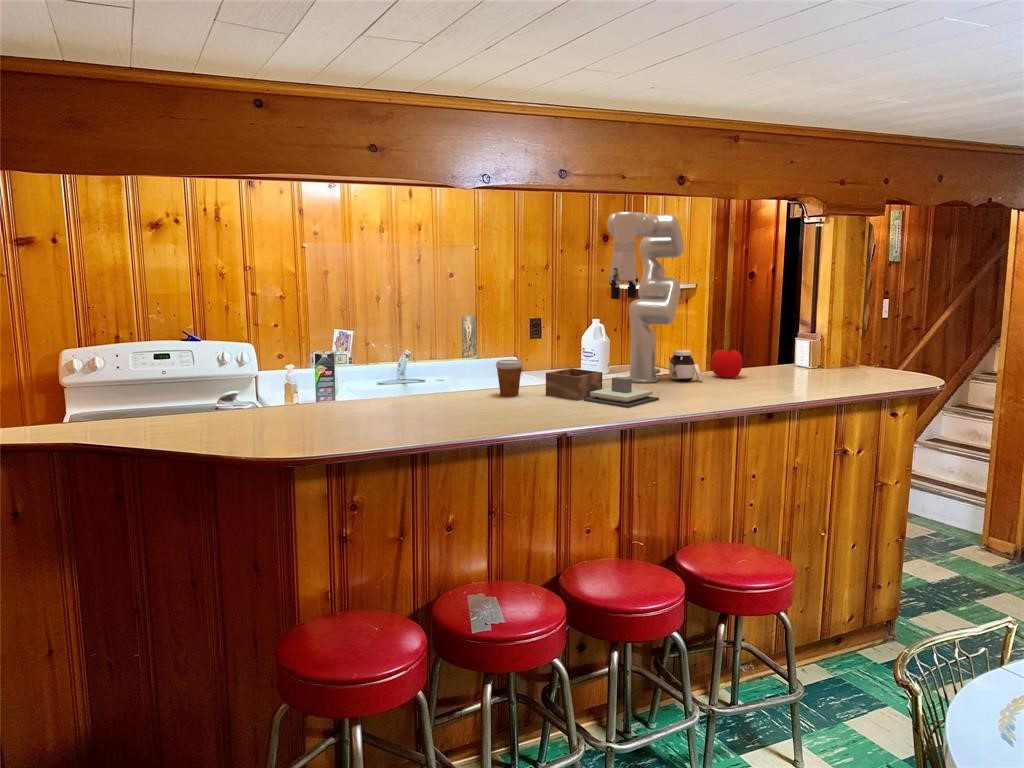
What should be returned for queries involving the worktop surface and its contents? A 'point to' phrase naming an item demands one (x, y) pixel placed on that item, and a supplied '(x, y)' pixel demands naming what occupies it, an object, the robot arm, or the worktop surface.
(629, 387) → the lid
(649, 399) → the mat
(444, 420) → the worktop surface
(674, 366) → the spread jar
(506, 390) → the disposable coffee cup
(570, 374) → the box
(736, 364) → the red apple
